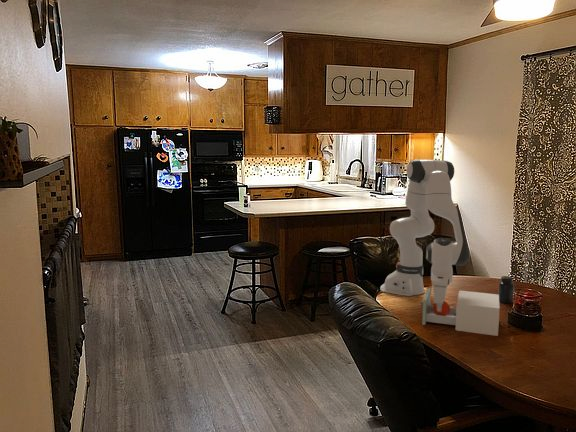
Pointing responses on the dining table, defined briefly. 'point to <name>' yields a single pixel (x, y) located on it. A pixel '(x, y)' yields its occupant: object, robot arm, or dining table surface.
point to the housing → (477, 313)
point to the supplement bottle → (506, 290)
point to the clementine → (444, 310)
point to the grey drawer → (431, 316)
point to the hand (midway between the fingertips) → (440, 307)
